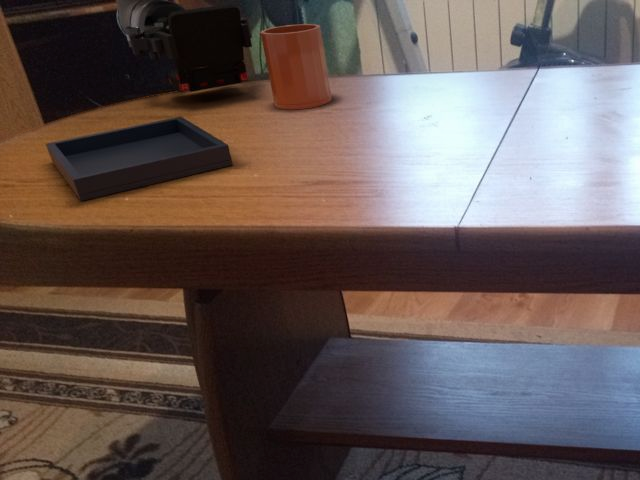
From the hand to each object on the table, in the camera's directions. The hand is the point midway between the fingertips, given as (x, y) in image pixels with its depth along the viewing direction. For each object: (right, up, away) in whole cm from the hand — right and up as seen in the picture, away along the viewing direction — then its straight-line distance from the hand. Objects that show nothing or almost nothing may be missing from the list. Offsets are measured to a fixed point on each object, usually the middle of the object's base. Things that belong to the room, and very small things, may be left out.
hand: (211, 41), depth 94 cm
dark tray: (-2, -20, -17) cm, 26 cm away
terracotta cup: (+11, -7, +2) cm, 14 cm away
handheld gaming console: (-3, -3, +7) cm, 8 cm away
